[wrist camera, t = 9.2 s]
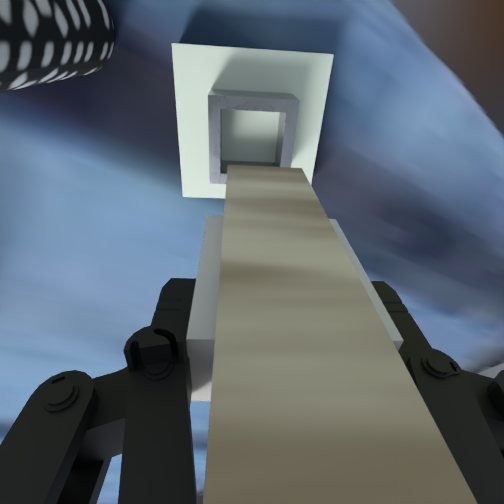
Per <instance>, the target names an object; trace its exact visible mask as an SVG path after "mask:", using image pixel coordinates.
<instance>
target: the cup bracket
mask: <svg viewBox="0 0 504 504" xmlns="http://www.w3.org/2000/svg"><path fill="white" fill-rule="evenodd" d="M299 102H300V100H299V99H298V98H297V97H295V96H294V95H293V94H290V93H273V92H257V91H240V90H223V89H211V90H210V92H209V93H208V131H209V180H210V184H226V180H227V166H228V165H244V166H266V167H288V168H291V163H292V155H293V147H294V140H295V132H296V125H297V117H298V109H299ZM222 109H228V110H246V111H264V112H280V114H279V124H278V134H277V144H276V154H275V162H254V161H231V160H222Z"/></svg>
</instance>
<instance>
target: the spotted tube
mask: <svg viewBox="0 0 504 504" xmlns="http://www.w3.org/2000/svg"><path fill="white" fill-rule="evenodd" d="M113 45H114V26H113V20H112V17H111V13H110V10H109V8H108V6H107V4H106V2H105V0H0V92H5V91H9V90H14V89H19V88H24V87H29V86H33V85H38V84H43V83H48V82H53V81H57V80H62V79H67V78H72V77H77V76H81V75H86V74H91V73H93V72H95V71H98V70H99V69H100V68H101V67H103V66H104V65H105V63H106V62H107V61H108V60H109V57H110V55H111V53H112V50H113Z"/></svg>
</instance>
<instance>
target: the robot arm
mask: <svg viewBox="0 0 504 504" xmlns="http://www.w3.org/2000/svg"><path fill="white" fill-rule="evenodd" d="M223 221H224V215H207V219H206V224H205V230H204V236H203V242H202V248H201V254H200V260H199V266H198V272H197V278H196V279H187V278H171V279H170V280H169V281H168V282H167V283H166V284H165V285H164V286H163V287H162V290H161V293H160V296H159V301H158V303H157V306H156V311H155V313H154V316H153V319H152V323H151V326H148V327H144V328H142V329H140V330H139V331H137V332H135V333H134V334H133V335H132V336H131V337H130V338H129V339H128V341H127V342H126V345H125V348H124V350H123V351H124V354H125V358H126V362H127V365H128V366H127V367H125V368H124V369H122V370H119V371H117V372H114V373H111V374H107V375H104V376H100V377H96V378H93V379H92V378H91V377H90V376H89V375H87V374H86V373H85V372H81V371H77V370H73V371H65V372H62V373H59V374H57V375H54V376H52V377H50V378H49V379H47V380H46V381H45V382H43V383H42V384H41V385H39V387H38V388H37V389H36V390H35V391H34V393H33V394H32V395H31V396H30V398H29V400H28V401H27V403H26V404H25V406H24V408H23V409H22V411H21V412H20V414H19V416H18V417H17V419H16V421H15V422H14V424H13V425H12V427H11V429H10V430H9V432H8V433H7V435H6V437H5V438H4V440H3V441H2V443H1V445H0V504H96V503H97V500H98V497H99V494H100V491H101V488H102V485H103V482H104V479H105V476H106V473H107V470H108V467H109V465H110V462H111V459H112V457H114V456H116V455H119V454H122V463H121V474H120V486H119V497H118V504H198V502H197V490H196V478H195V466H194V454H193V442H192V430H191V418H190V402H191V398H192V401H211V388H212V374H213V360H214V346H215V332H216V318H217V304H218V291H219V277H220V263H221V249H222V235H223ZM329 221H330V223H331V225H332V227H333V229H334V230H335V232H336V234H337V236H338V238H339V240H340V242H341V244H342V246H343V248H344V250H345V251H346V253H347V255H348V257H349V259H350V261H351V263H352V265H353V267H354V269H355V271H356V272H357V274H358V276H359V278H360V280H361V282H362V284H363V286H364V288H365V290H366V292H367V293H368V295H369V297H370V299H371V301H372V303H373V305H374V307H375V309H376V311H377V313H378V314H379V316H380V318H381V320H382V322H383V324H384V326H385V328H386V330H387V332H388V334H389V335H390V337H391V339H392V341H393V343H394V345H395V347H396V349H397V351H398V353H399V355H400V356H401V358H402V360H403V362H404V364H405V366H406V368H407V370H408V372H409V374H410V376H411V377H412V379H413V381H414V383H415V385H416V387H417V389H418V391H419V393H420V395H421V397H422V398H423V400H424V402H425V404H426V406H427V408H428V410H429V412H430V414H431V416H432V418H433V419H434V421H435V423H436V425H437V427H438V429H439V431H440V433H441V435H442V437H443V439H444V441H445V442H446V444H447V446H448V448H449V450H450V452H451V454H452V456H453V458H454V460H455V462H456V463H457V465H458V467H459V469H460V471H461V473H462V475H463V477H464V479H465V481H466V483H467V484H468V486H469V488H470V490H471V492H472V494H473V496H474V498H475V500H476V502H477V504H504V370H502V371H500V372H499V373H498V375H497V376H496V377H495V378H494V379H493V378H490V377H485V376H482V375H479V374H475V373H471V372H468V371H464V370H462V369H461V368H460V367H459V365H458V364H457V363H456V362H455V361H454V360H453V359H452V358H451V357H450V356H448V355H446V354H445V353H443V352H441V351H439V350H436V349H433V348H432V347H431V346H430V344H429V343H428V341H427V340H426V338H425V336H424V335H423V333H422V332H421V330H420V329H419V327H418V325H417V324H416V322H415V321H414V319H413V318H412V316H411V315H410V313H408V310H407V308H406V307H405V305H404V304H402V301H401V299H400V297H399V296H398V294H397V293H396V291H395V290H394V289H392V288H391V287H390V286H389V285H388V284H386V283H385V282H384V281H370V280H369V278H368V276H367V274H366V273H365V271H364V269H363V267H362V266H361V264H360V262H359V260H358V258H357V257H356V255H355V253H354V251H353V250H352V248H351V246H350V244H349V242H348V241H347V239H346V237H345V235H344V234H343V232H342V230H341V228H340V226H339V225H338V223H337V221H336V219H329Z"/></svg>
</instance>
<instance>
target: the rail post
mask: <svg viewBox="0 0 504 504" xmlns="http://www.w3.org/2000/svg"><path fill="white" fill-rule="evenodd" d="M203 504H477V502H476V500H475V498H474V496H473V494H472V492H471V490H470V488H469V486H468V484H467V483H466V481H465V479H464V477H463V475H462V473H461V471H460V469H459V467H458V465H457V463H456V462H455V460H454V458H453V456H452V454H451V452H450V450H449V448H448V446H447V444H446V442H445V441H444V439H443V437H442V435H441V433H440V431H439V429H438V427H437V425H436V423H435V421H434V419H433V418H432V416H431V414H430V412H429V410H428V408H427V406H426V404H425V402H424V400H423V398H422V397H421V395H420V393H419V391H418V389H417V387H416V385H415V383H414V381H413V379H412V377H411V376H410V374H409V372H408V370H407V368H406V366H405V364H404V362H403V360H402V358H401V356H400V355H399V353H398V351H397V349H396V347H395V345H394V343H393V341H392V339H391V337H390V335H389V334H388V332H387V330H386V328H385V326H384V324H383V322H382V320H381V318H380V316H379V314H378V313H377V311H376V309H375V307H374V305H373V303H372V301H371V299H370V297H369V295H368V293H367V292H366V290H365V288H364V286H363V284H362V282H361V280H360V278H359V276H358V274H357V272H356V271H355V269H354V267H353V265H352V263H351V261H350V259H349V257H348V255H347V253H346V251H345V250H344V248H343V246H342V244H341V242H340V240H339V238H338V236H337V234H336V232H335V230H334V229H333V227H332V225H331V223H330V221H329V219H328V217H327V215H326V213H325V211H324V209H323V207H322V206H321V204H320V202H319V200H318V198H317V196H316V194H315V192H314V190H313V188H312V186H311V185H310V183H309V181H308V179H307V177H306V175H305V173H304V171H303V169H302V168H288V167H266V166H244V165H228V166H227V180H226V194H225V207H224V221H223V235H222V249H221V263H220V277H219V291H218V304H217V318H216V332H215V346H214V360H213V374H212V388H211V401H210V415H209V429H208V443H207V457H206V471H205V485H204V499H203Z"/></svg>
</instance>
